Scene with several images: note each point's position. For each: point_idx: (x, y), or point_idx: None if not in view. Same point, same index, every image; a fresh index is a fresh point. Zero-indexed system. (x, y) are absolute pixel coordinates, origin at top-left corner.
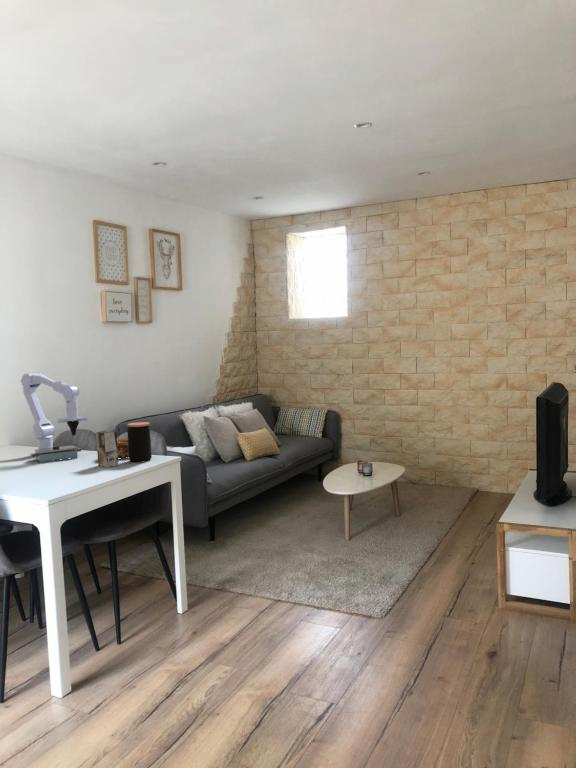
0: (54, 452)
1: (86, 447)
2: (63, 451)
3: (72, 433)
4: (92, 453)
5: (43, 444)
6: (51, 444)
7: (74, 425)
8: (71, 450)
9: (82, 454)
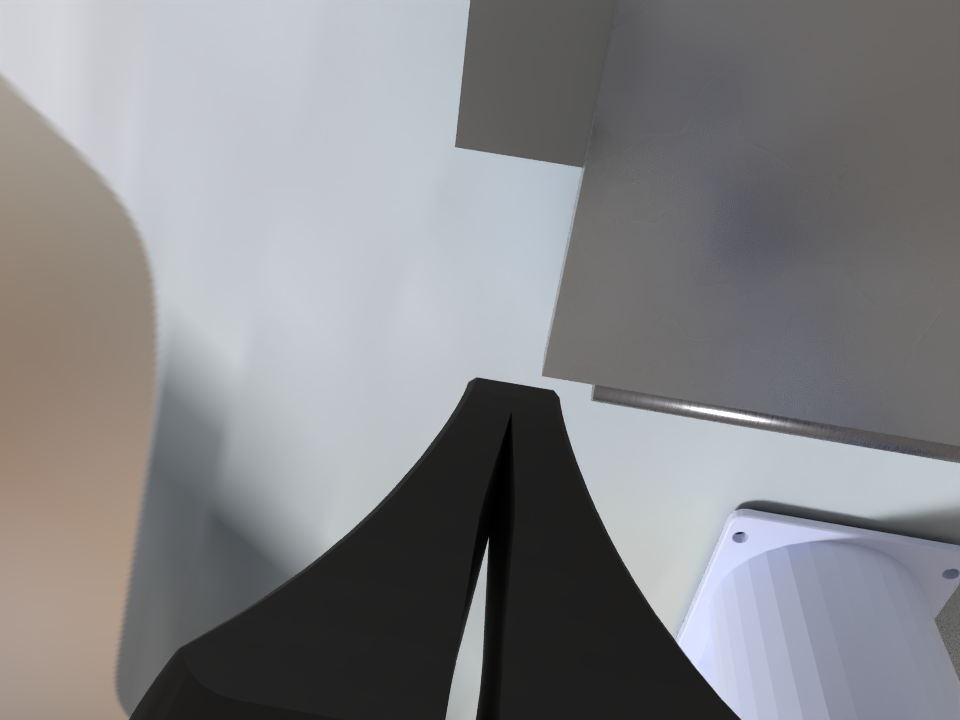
0: None
1: None
2: None
3: (566, 436)
4: (221, 81)
5: (953, 707)
6: (790, 679)
7: (454, 631)
8: None
9: (408, 139)
